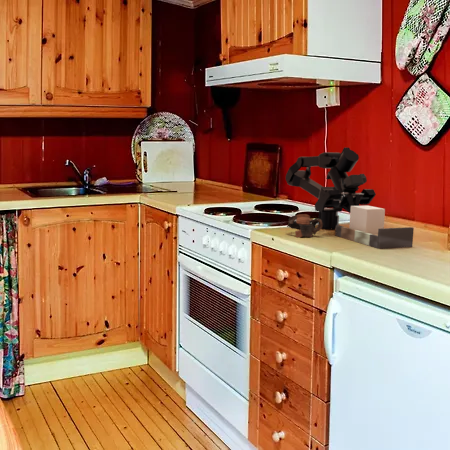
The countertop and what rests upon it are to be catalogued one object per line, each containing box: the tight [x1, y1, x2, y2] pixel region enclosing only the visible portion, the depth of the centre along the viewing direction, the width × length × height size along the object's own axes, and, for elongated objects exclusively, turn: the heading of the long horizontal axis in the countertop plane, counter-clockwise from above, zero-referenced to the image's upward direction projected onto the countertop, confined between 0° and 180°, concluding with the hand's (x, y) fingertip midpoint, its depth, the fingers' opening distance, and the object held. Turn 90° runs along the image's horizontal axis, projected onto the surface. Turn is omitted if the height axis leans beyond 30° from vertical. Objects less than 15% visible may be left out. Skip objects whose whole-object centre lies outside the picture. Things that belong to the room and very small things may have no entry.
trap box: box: [334, 224, 415, 250], centre depth 202 cm, size 24×12×6 cm, turn 23°
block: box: [348, 205, 386, 234], centre depth 205 cm, size 9×7×8 cm
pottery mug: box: [286, 213, 323, 238], centre depth 210 cm, size 12×10×8 cm
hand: (358, 216), depth 209 cm, fingers closed
